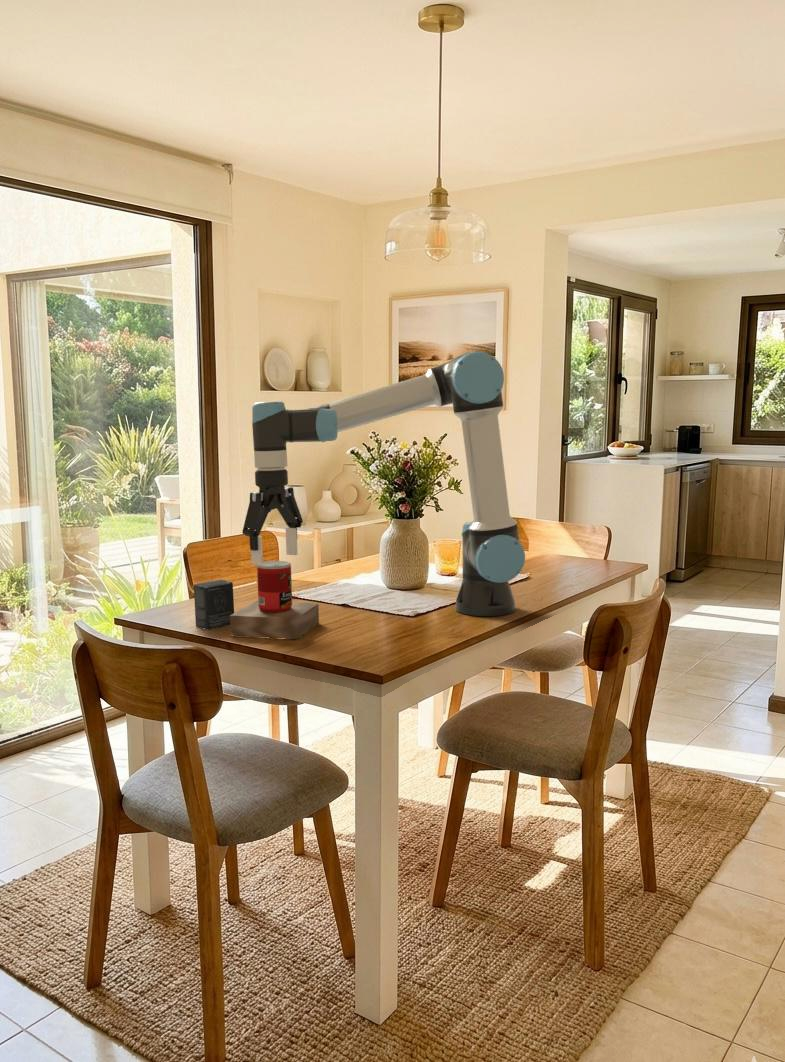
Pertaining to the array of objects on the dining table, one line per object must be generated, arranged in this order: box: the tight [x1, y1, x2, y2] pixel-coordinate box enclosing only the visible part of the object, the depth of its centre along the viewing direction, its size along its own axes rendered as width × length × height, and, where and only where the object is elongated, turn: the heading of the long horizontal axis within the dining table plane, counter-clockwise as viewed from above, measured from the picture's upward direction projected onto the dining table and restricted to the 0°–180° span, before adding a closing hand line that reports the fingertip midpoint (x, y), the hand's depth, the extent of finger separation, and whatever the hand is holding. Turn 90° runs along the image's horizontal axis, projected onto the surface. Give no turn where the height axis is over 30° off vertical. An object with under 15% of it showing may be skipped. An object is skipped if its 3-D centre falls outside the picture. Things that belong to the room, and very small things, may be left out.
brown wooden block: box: [229, 600, 320, 640], centre depth 216 cm, size 16×16×5 cm
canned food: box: [256, 560, 293, 613], centre depth 215 cm, size 8×8×11 cm
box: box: [193, 579, 235, 630], centre depth 221 cm, size 8×6×11 cm
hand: (275, 559), depth 214 cm, fingers open, 13 cm apart
